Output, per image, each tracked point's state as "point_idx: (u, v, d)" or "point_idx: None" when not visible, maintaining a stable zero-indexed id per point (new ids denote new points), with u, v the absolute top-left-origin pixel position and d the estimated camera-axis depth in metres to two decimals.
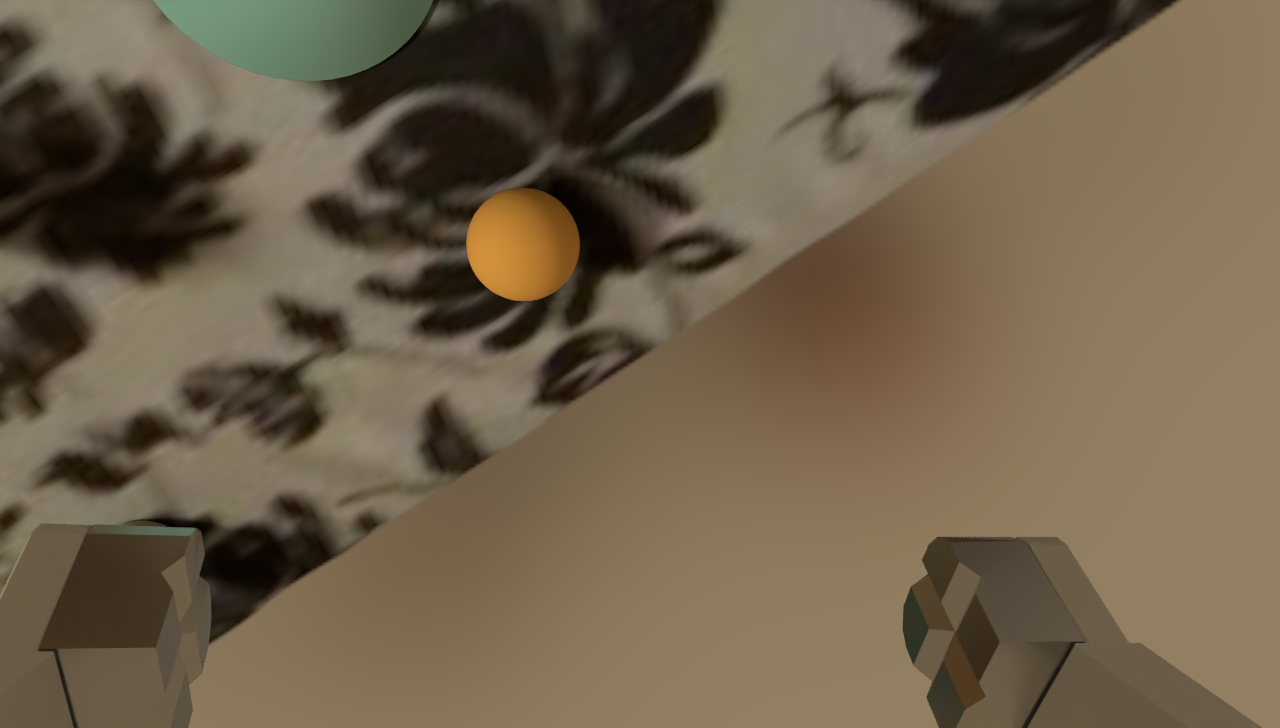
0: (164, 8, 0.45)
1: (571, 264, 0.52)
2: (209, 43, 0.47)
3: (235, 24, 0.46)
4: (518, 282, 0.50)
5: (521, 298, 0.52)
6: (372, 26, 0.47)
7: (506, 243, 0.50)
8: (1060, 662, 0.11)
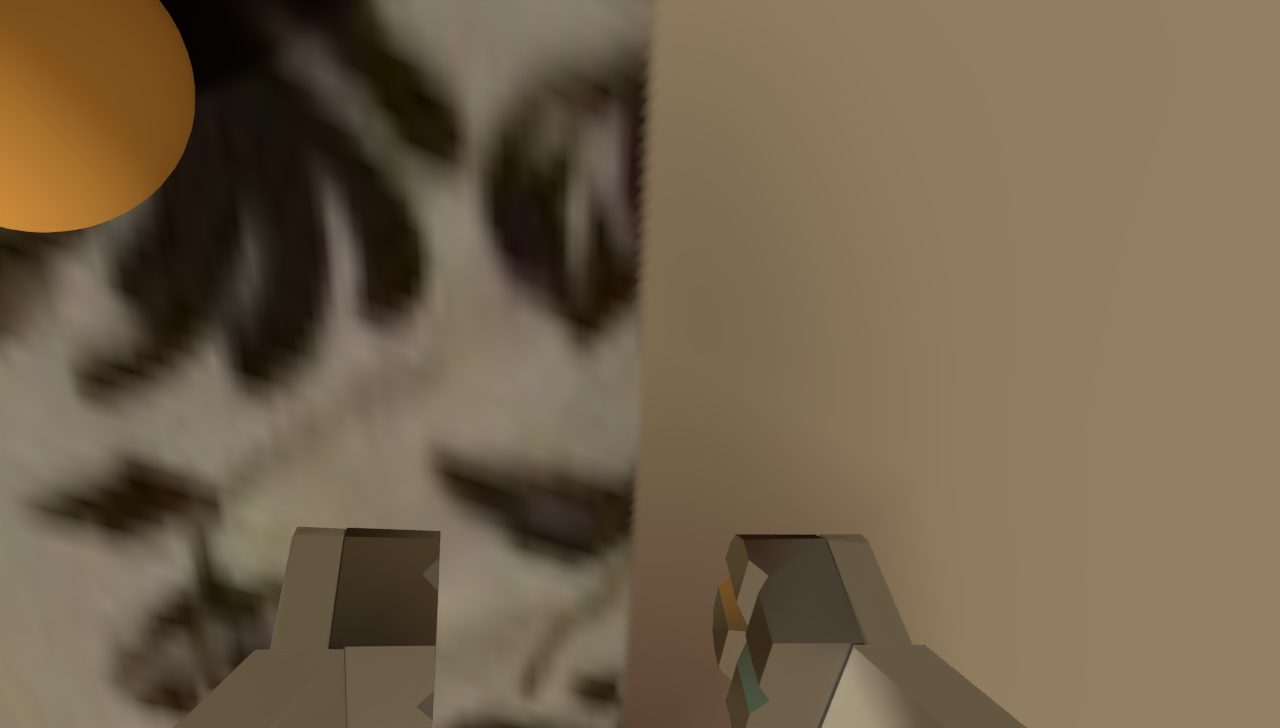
0: None
1: (74, 21, 0.18)
2: None
3: None
4: None
5: (78, 193, 0.19)
6: None
7: None
8: (841, 665, 0.10)
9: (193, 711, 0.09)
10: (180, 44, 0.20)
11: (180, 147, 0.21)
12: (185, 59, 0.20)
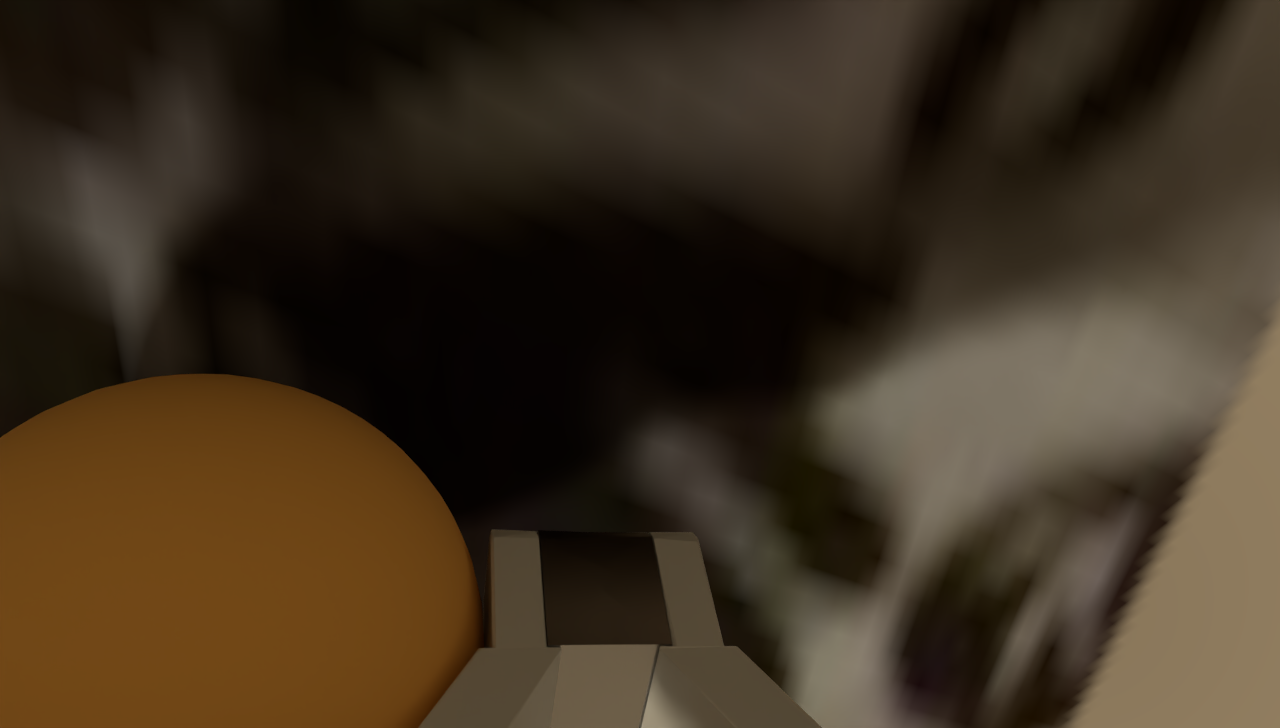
0: None
1: (260, 711, 0.08)
2: None
3: None
4: None
5: None
6: None
7: None
8: (650, 667, 0.10)
9: (437, 706, 0.09)
10: (472, 641, 0.10)
11: None
12: None
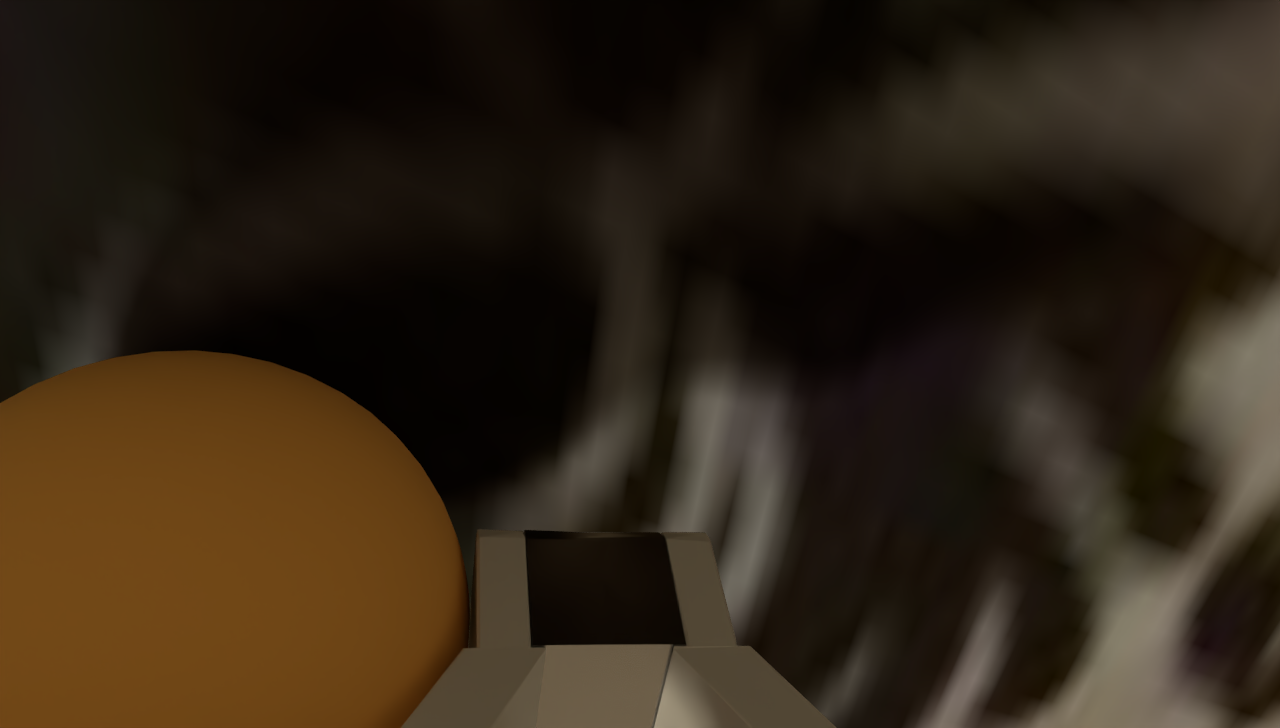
0: None
1: None
2: None
3: None
4: None
5: None
6: None
7: None
8: (663, 666, 0.10)
9: (419, 707, 0.09)
10: None
11: None
12: None
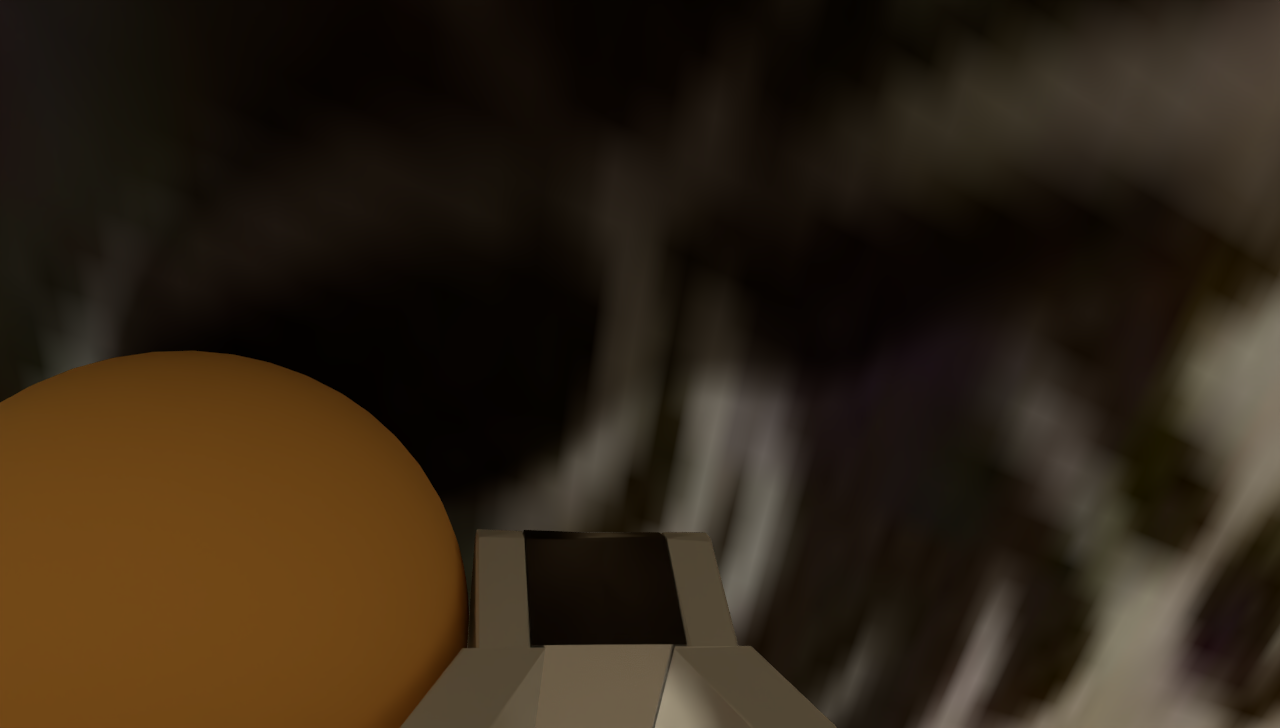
0: None
1: None
2: None
3: None
4: None
5: None
6: None
7: None
8: (664, 667, 0.10)
9: (418, 707, 0.09)
10: None
11: None
12: None
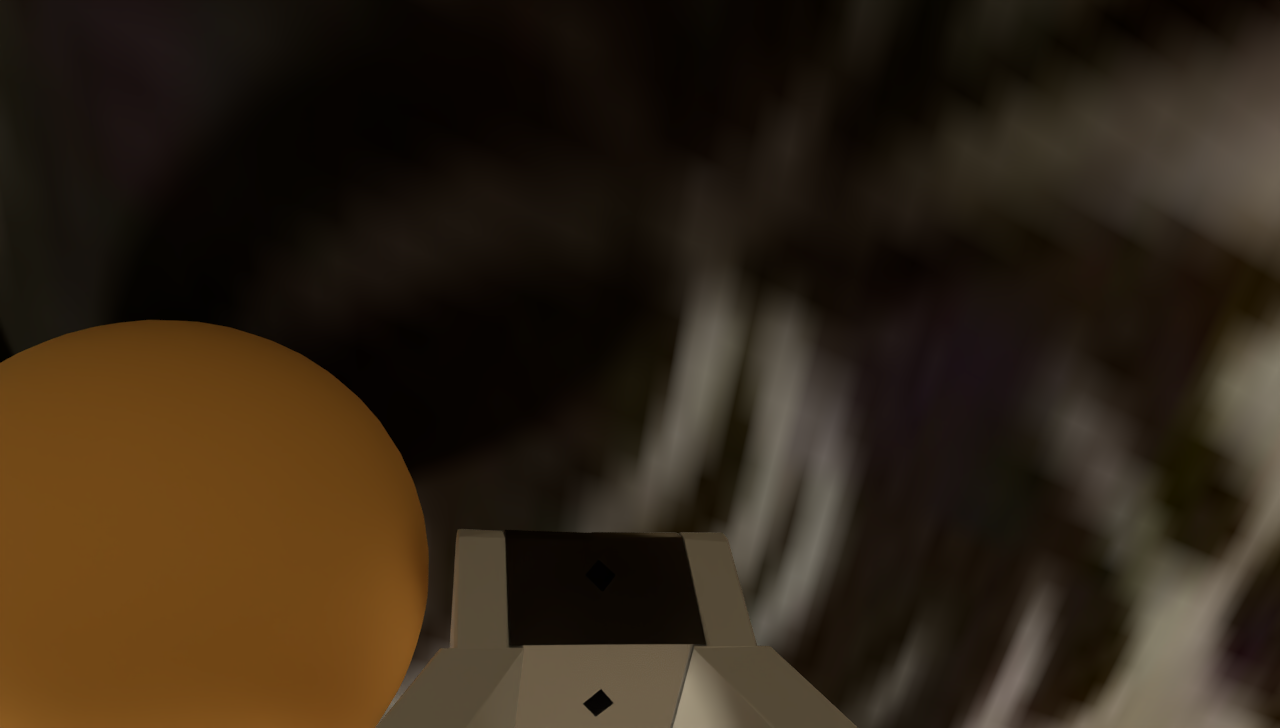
0: None
1: None
2: None
3: None
4: None
5: None
6: None
7: None
8: (683, 666, 0.10)
9: (394, 707, 0.09)
10: (17, 721, 0.09)
11: None
12: None
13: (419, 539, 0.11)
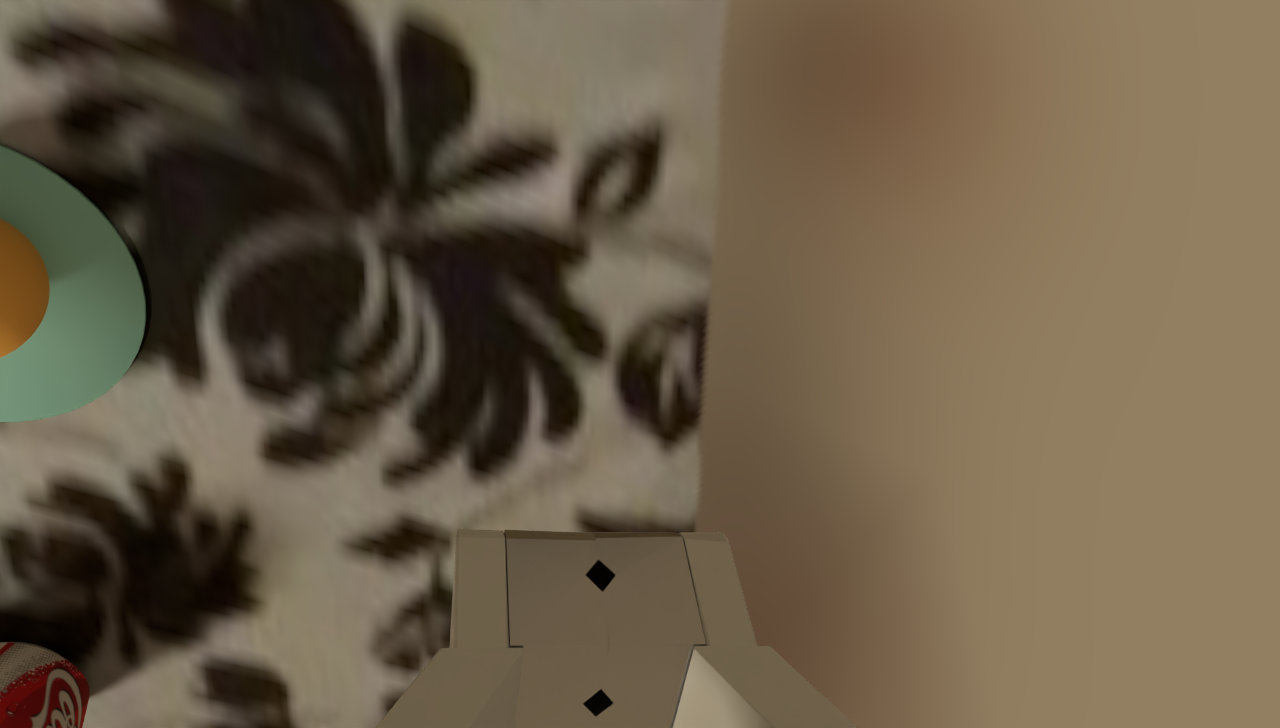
0: None
1: (34, 246, 0.38)
2: (38, 412, 0.44)
3: (31, 382, 0.43)
4: (38, 326, 0.38)
5: None
6: (100, 285, 0.41)
7: (5, 333, 0.36)
8: (683, 666, 0.10)
9: (394, 707, 0.09)
10: None
11: None
12: None
13: None
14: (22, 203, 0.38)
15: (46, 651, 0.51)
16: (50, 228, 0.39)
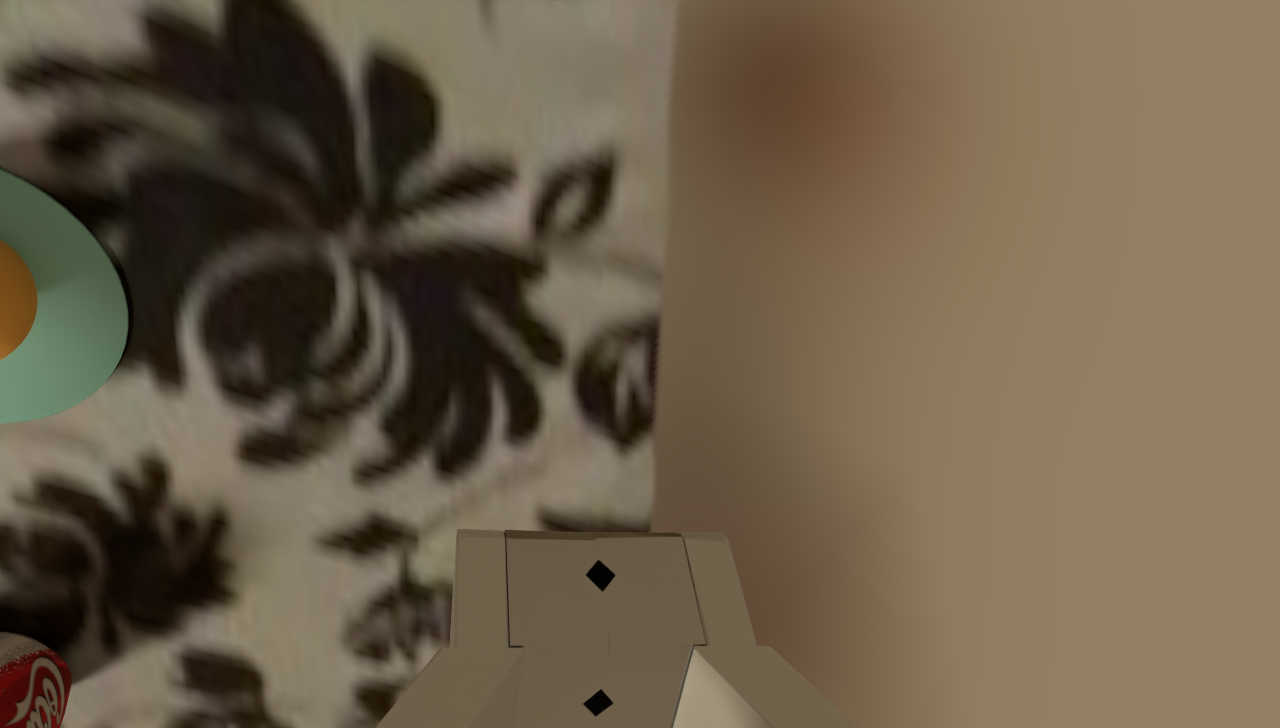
0: None
1: (23, 260, 0.41)
2: (25, 414, 0.46)
3: (19, 386, 0.45)
4: None
5: None
6: (85, 296, 0.43)
7: None
8: (683, 666, 0.10)
9: (394, 707, 0.09)
10: None
11: None
12: None
13: None
14: (11, 219, 0.41)
15: (30, 640, 0.53)
16: (38, 243, 0.42)
